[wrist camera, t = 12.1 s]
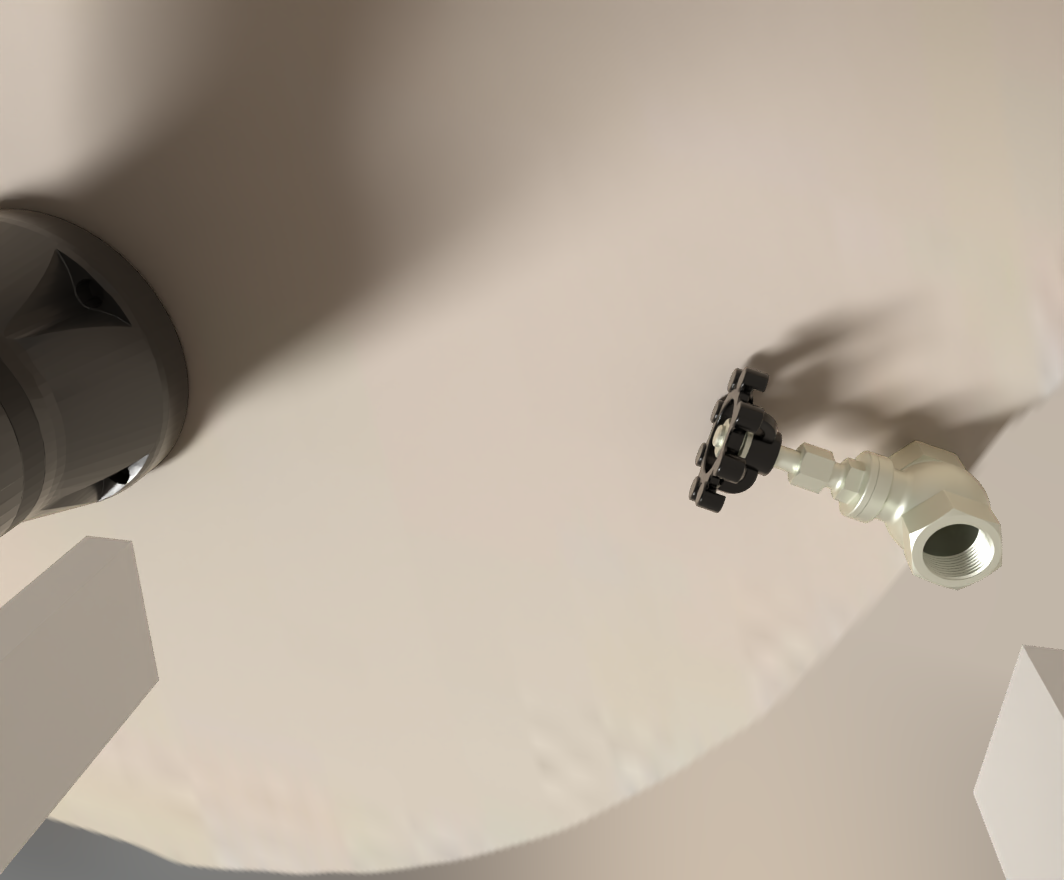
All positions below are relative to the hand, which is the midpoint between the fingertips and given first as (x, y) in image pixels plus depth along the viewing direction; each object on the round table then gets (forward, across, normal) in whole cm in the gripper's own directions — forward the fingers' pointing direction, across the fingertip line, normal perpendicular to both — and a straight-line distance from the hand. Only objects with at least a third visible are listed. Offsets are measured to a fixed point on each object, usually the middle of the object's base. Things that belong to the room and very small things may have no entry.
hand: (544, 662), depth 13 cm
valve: (+28, +10, -8) cm, 31 cm away
